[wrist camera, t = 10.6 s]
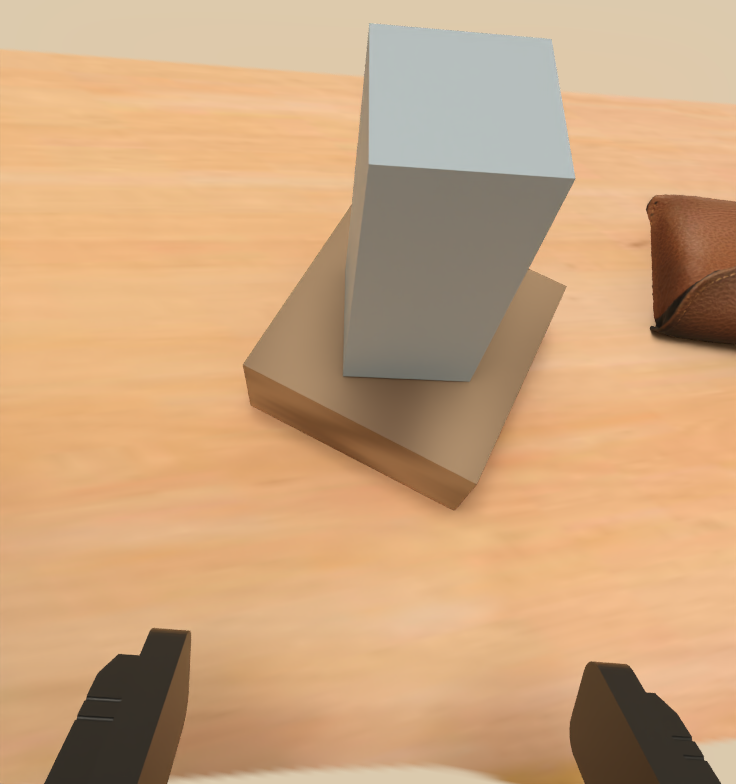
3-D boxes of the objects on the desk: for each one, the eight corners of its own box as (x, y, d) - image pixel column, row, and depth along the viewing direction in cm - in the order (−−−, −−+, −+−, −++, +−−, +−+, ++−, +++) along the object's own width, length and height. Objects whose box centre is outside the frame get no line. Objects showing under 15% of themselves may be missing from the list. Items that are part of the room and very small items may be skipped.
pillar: (342, 375, 23) (368, 164, 14) (345, 270, 25) (369, 23, 16) (469, 381, 23) (575, 178, 14) (462, 276, 25) (551, 39, 16)
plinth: (251, 408, 26) (242, 364, 23) (354, 250, 30) (361, 190, 26) (452, 512, 25) (476, 484, 22) (533, 336, 29) (566, 286, 25)
